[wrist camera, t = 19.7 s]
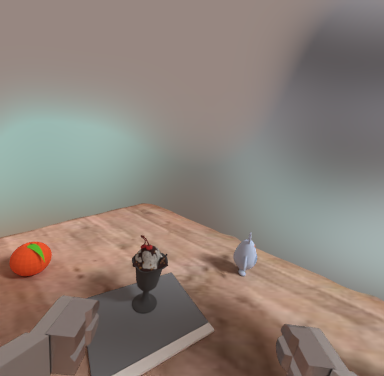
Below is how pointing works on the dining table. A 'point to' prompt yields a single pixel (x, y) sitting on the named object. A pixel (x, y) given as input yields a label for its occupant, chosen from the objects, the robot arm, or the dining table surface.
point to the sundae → (147, 276)
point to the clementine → (30, 258)
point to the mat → (143, 329)
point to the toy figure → (245, 255)
